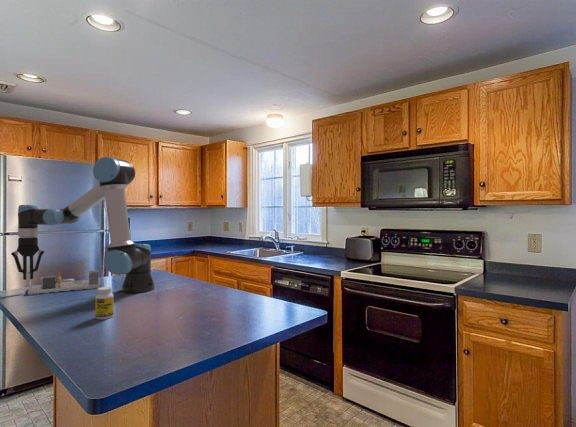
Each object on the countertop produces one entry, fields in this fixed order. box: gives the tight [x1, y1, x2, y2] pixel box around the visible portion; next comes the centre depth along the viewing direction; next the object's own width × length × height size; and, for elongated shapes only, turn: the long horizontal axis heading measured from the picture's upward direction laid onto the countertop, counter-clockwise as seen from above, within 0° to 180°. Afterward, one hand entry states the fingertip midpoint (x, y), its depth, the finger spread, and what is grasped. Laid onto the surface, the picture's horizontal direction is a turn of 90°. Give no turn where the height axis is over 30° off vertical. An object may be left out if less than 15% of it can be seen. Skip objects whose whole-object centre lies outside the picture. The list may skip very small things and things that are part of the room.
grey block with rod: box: [40, 275, 75, 288], centre depth 177 cm, size 14×10×5 cm
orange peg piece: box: [57, 272, 62, 283], centre depth 181 cm, size 2×3×5 cm, turn 32°
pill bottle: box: [94, 286, 115, 320], centre depth 133 cm, size 6×6×11 cm
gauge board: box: [27, 269, 102, 296], centre depth 179 cm, size 30×13×8 cm, turn 122°
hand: (28, 286), depth 169 cm, fingers closed
